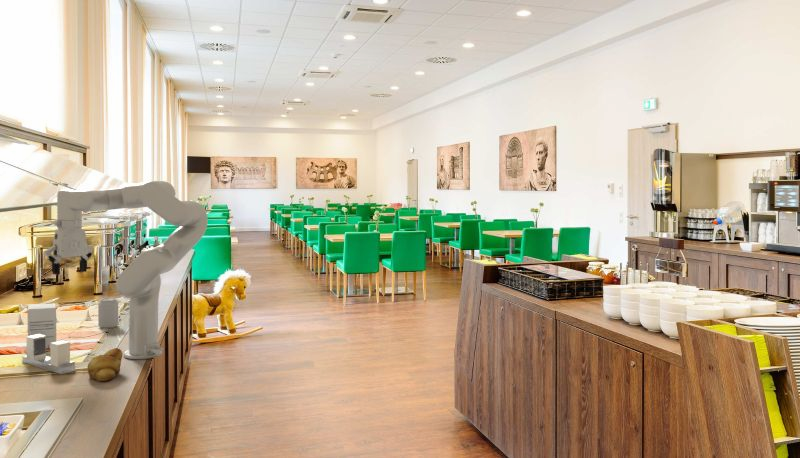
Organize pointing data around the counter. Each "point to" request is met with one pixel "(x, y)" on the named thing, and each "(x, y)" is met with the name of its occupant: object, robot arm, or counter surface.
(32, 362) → the rail
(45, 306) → the supplement box
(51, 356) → the finger
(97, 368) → the bread roll
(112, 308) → the grey upright block
